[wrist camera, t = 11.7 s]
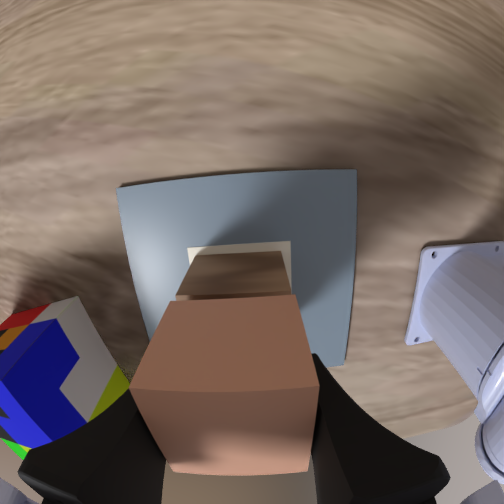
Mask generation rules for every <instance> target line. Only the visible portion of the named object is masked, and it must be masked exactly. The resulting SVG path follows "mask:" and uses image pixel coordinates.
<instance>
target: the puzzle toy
mask: <svg viewBox="0 0 504 504" xmlns="http://www.w3.org/2000/svg"><path fill="white" fill-rule="evenodd" d="M129 386H130V383H129V381H128V380H127V378H126V377H125V375H124V374H123V372H122V371H121V369H120V368H119V366H118V365H117V363H116V362H115V360H114V359H113V357H112V355H111V354H110V352H109V351H108V349H107V347H106V346H105V344H104V342H103V341H102V339H101V337H100V335H99V334H98V332H97V330H96V329H95V327H94V325H93V323H92V321H91V320H90V318H89V316H88V314H87V312H86V310H85V308H84V306H83V304H82V303H81V301H80V299H79V297H78V296H76V297H72V298H69V299H65V300H61V301H58V302H54V303H51V304H47V305H44V306H40V307H37V308H33V309H29V310H26V311H22V312H19V313H15V314H12V315H11V316H10V317H9V318H7V319H6V320H5V321H4V322H3V323H2V324H1V325H0V438H1V439H2V440H3V441H4V442H5V443H6V444H7V445H8V446H9V447H10V448H11V449H12V450H13V451H14V452H15V453H16V454H17V455H18V456H19V457H20V458H21V459H23V460H24V458H25V456H26V454H27V453H28V451H29V449H33V448H36V447H39V446H42V445H45V444H47V443H50V442H52V441H55V440H57V439H59V438H61V437H63V436H65V435H67V434H69V433H71V432H73V431H75V430H76V429H78V428H80V427H81V426H83V425H85V424H86V423H88V422H89V421H91V420H92V419H94V418H95V417H96V416H98V415H99V414H100V413H102V412H103V411H104V410H106V409H107V408H108V407H109V406H110V405H111V404H113V403H114V402H115V401H116V400H117V399H118V398H119V397H120V396H121V395H122V394H123V393H124V392H125V391H126V390H127V389H128V388H129Z"/></svg>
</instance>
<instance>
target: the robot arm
mask: <svg viewBox="0 0 504 504" xmlns="http://www.w3.org/2000/svg"><path fill="white" fill-rule="evenodd" d="M495 248H496V249H495ZM434 251H435V253H434V255H433V256H432V253H433V252H434ZM416 337H417V338H416ZM415 338H416V339H415ZM432 340H434V341H435V343H436V344H437V345H438V346H439V348H440V349H441V350H442V352H443V353H444V354H445V356H446V357H447V358H448V359H449V361H450V362H451V363H452V365H453V366H454V367H455V369H456V370H457V372H458V373H459V374H460V376H461V377H462V378H463V380H464V381H465V383H466V384H467V385H468V387H469V388H470V390H471V391H472V393H473V394H474V395H475V397H476V398H477V400H478V405H477V407H476V409H475V410H474V413H475V414H476V416H477V418H478V419H479V421H480V422H481V423H480V425H479V427H478V429H477V432H476V436H475V450H476V454H477V458H478V460H479V463H480V465H481V466H482V468H483V470H484V471H485V472H486V473H487V474H488V476H490V477H491V478H492V479H493V480H494V481H493V482H491V483H489V484H488V485H486V486H484V487H483V488H481V489H479V490H477V491H476V492H474V493H473V494H471V495H470V496H468V497H467V498H466V499H464V500H463V501H462V502H461V503H460V504H504V493H503V490H502V488H501V486H500V484H499V483H501V484H504V241H494V242H482V243H469V244H456V245H443V246H429V247H425V248H424V249H423V250H422V251H421V256H420V263H419V270H418V276H417V283H416V288H415V294H414V299H413V304H412V309H411V314H410V319H409V323H408V327H407V332H406V336H405V343H406V344H407V345H414V344H418V343H423V342H427V341H432ZM312 358H313V362H314V366H315V370H316V374H317V378H318V382H319V385H320V386H319V395H318V403H317V411H316V419H315V426H314V433H313V440H312V446H311V455H312V460H313V466H314V474H315V483H316V493H317V504H436V500H435V496H436V495H437V494H438V493H439V492H440V491H441V490H442V489H443V488H444V487H445V486H446V485H447V484H448V482H449V480H450V475H449V473H448V471H447V468H446V467H445V465H444V463H443V462H442V460H441V458H440V457H439V456H437V455H435V454H432V453H430V452H428V451H425V450H423V449H420V448H418V447H416V446H414V445H412V444H410V443H409V442H407V441H405V440H403V439H402V438H400V437H399V436H397V435H395V434H394V433H392V432H391V431H389V430H388V429H386V428H385V427H383V426H382V425H381V424H379V423H378V422H377V421H376V420H374V419H373V418H372V417H371V416H370V415H368V414H367V413H366V412H365V411H364V410H363V409H362V408H361V407H360V406H359V405H357V404H356V403H355V401H354V400H353V399H352V398H351V397H350V396H349V395H348V394H347V393H346V392H345V391H344V390H343V388H342V387H341V386H340V385H339V384H338V383H337V381H336V380H335V379H334V378H333V376H332V375H331V374H330V372H329V371H328V370H327V368H326V367H325V365H324V364H323V362H322V361H321V359H320V358H319V356H318V355H317V354H316V353H312ZM165 464H166V458H165V456H164V455H163V453H162V451H161V450H160V448H159V446H158V444H157V443H156V441H155V439H154V437H153V436H152V434H151V432H150V430H149V428H148V426H147V424H146V422H145V420H144V419H143V417H142V415H141V413H140V411H139V409H138V407H137V405H136V402H135V400H134V398H133V396H132V394H131V392H130V390H129V388H128V389H127V390H126V391H125V392H124V393H123V394H122V395H121V396H120V397H119V398H118V399H117V400H116V401H115V402H114V403H113V404H111V405H110V406H109V407H108V408H107V409H106V410H104V411H103V412H102V413H100V414H99V415H98V416H96V417H95V418H94V419H92V420H91V421H89V422H88V423H86V424H85V425H83V426H81V427H80V428H78V429H76V430H75V431H73V432H71V433H69V434H67V435H65V436H63V437H61V438H59V439H57V440H55V441H52V442H50V443H47V444H45V445H42V446H39V447H36V448H33V449H29V451H28V453H27V454H26V456H25V458H24V460H23V462H22V464H21V466H20V468H19V470H18V474H19V477H20V478H21V479H22V480H23V481H24V482H25V483H26V484H27V485H29V486H30V487H31V488H32V489H33V490H35V491H36V492H37V493H38V494H39V495H41V496H42V497H43V498H44V499H43V501H42V504H161V500H162V488H163V479H164V470H165ZM0 504H39V503H37V502H35V501H33V500H31V499H29V498H27V497H26V495H24V494H23V493H22V492H21V491H19V490H18V489H17V488H15V487H13V486H12V485H11V484H9V483H7V482H6V481H4V480H3V479H1V478H0Z"/></svg>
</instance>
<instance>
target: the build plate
mask: <svg viewBox="0 0 504 504" xmlns="http://www.w3.org/2000/svg"><path fill="white" fill-rule="evenodd" d="M116 192H117V199H118V206H119V212H120V218H121V224H122V229H123V235H124V240H125V245H126V250H127V255H128V260H129V264H130V269H131V273H132V278H133V282H134V286H135V290H136V294H137V298H138V302H139V306H140V309H141V313H142V317H143V320H144V324H145V327H146V331H147V334H148V337H149V341H151V339H152V337H153V334H154V332H155V330H156V328H157V326H158V324H159V322H160V320H161V318H162V316H163V314H164V312H165V310H166V308H167V306H168V304H169V302H170V301H176V297H175V295H176V293H177V291H178V289H179V287H180V285H181V283H182V281H183V279H184V277H185V275H186V273H187V271H188V269H189V267H190V265H191V263H192V261H193V259H194V257H195V255H210V254H229V253H248V252H267V251H281V253H282V256H283V260H284V264H285V268H286V272H287V275H288V279H289V283H290V287H291V295H293V294H295V295H296V299H297V302H298V306H299V309H300V313H301V317H302V320H303V324H304V328H305V332H306V335H307V339H308V343H309V347H310V350H311V354H312V353H316V354H317V355H318V356H319V358H320V359H321V361H322V362H323V364H324V365H325V367H333V366H340V365H344V359H345V352H346V345H347V338H348V330H349V321H350V312H351V303H352V292H353V280H354V266H355V249H356V224H357V170H356V169H315V170H286V171H266V172H250V173H237V174H224V175H213V176H203V177H193V178H184V179H176V180H168V181H160V182H152V183H145V184H138V185H132V186H125V187H119V188H116Z"/></svg>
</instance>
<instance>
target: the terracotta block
mask: <svg viewBox="0 0 504 504" xmlns="http://www.w3.org/2000/svg"><path fill="white" fill-rule="evenodd" d="M319 386H320V385H319V382H318V378H317V374H316V370H315V366H314V362H313V358H312V354H311V350H310V347H309V343H308V339H307V335H306V332H305V328H304V324H303V320H302V317H301V313H300V309H299V306H298V302H297V299H296V295H295V294H293V295H280V296H265V297H249V298H230V299H209V300H183V301H170V302H169V304H168V306H167V308H166V310H165V312H164V314H163V316H162V318H161V320H160V322H159V324H158V326H157V328H156V330H155V332H154V334H153V337H152V339H151V341H150V343H149V345H148V347H147V349H146V351H145V353H144V355H143V357H142V360H141V362H140V364H139V366H138V368H137V370H136V372H135V375H134V377H133V379H132V381H131V383H130V386H129V390H130V392H131V394H132V396H133V398H134V400H135V402H136V405H137V407H138V409H139V411H140V413H141V415H142V417H143V419H144V420H145V422H146V424H147V426H148V428H149V430H150V432H151V434H152V436H153V437H154V439H155V441H156V443H157V444H158V446H159V448H160V450H161V451H162V453H163V455H164V456H165V458H166V460H167V461H168V463H169V465H170V466H171V468H172V470H173V471H174V472H181V473H193V474H209V475H269V474H284V473H295V472H303V471H307V470H308V464H309V458H310V452H311V446H312V440H313V433H314V426H315V419H316V411H317V403H318V395H319Z"/></svg>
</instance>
